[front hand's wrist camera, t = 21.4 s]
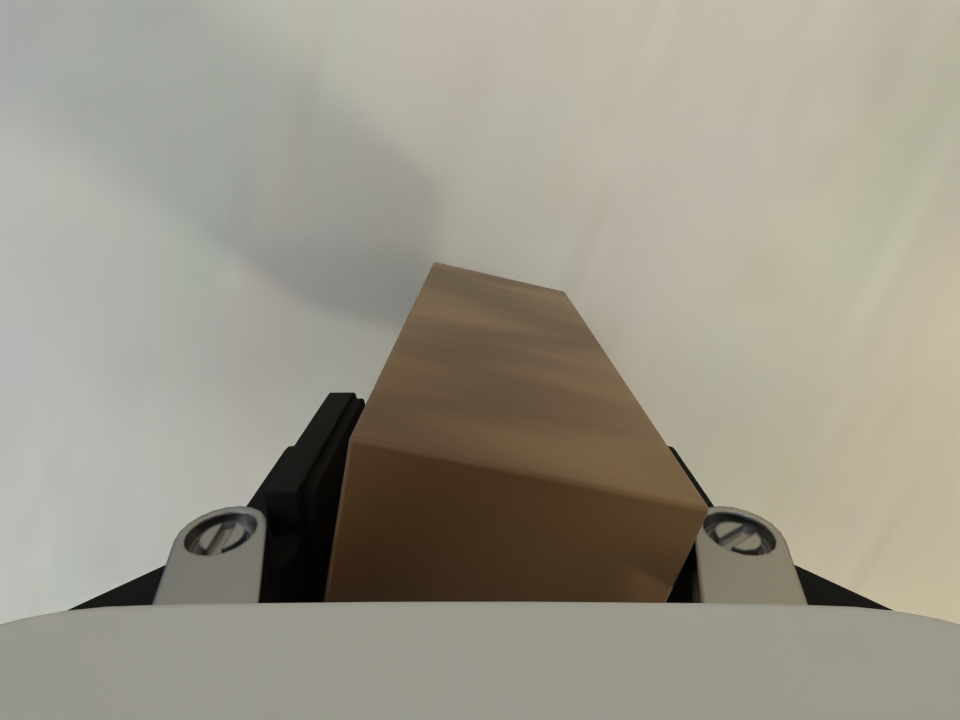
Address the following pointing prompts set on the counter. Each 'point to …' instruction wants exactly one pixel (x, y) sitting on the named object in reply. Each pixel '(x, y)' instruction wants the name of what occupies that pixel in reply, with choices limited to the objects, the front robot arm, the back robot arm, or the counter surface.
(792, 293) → the counter surface
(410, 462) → the block
